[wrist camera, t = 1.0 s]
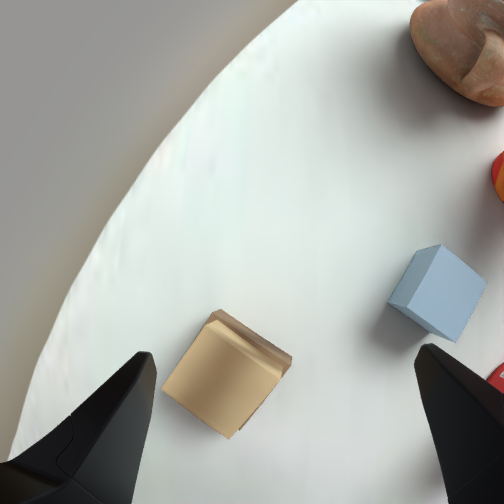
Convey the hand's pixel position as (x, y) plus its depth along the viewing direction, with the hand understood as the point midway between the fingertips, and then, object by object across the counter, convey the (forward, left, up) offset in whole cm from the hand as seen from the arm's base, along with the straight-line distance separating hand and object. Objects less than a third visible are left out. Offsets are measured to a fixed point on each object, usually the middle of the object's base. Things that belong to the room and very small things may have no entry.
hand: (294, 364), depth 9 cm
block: (-8, -7, -16) cm, 19 cm away
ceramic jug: (-2, -32, -16) cm, 36 cm away
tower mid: (+2, +7, -13) cm, 15 cm away
